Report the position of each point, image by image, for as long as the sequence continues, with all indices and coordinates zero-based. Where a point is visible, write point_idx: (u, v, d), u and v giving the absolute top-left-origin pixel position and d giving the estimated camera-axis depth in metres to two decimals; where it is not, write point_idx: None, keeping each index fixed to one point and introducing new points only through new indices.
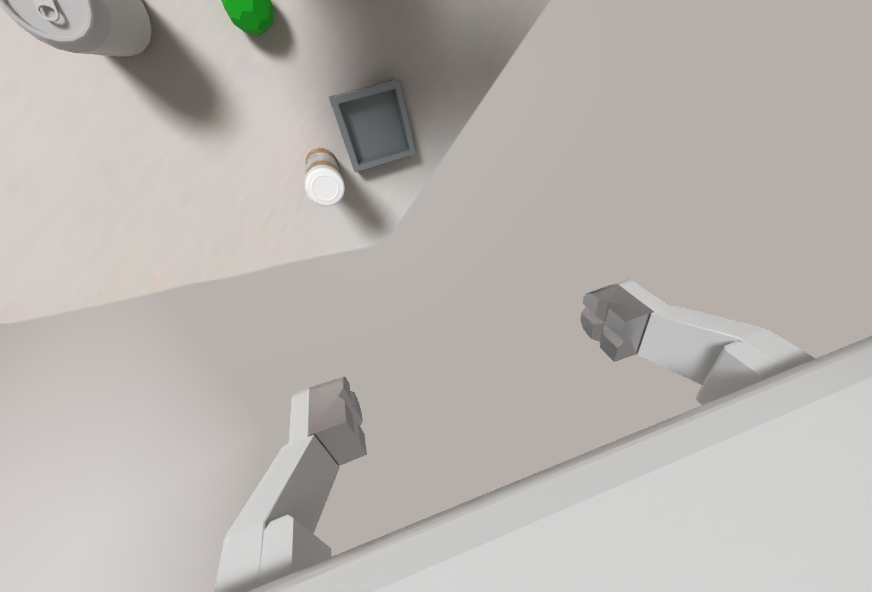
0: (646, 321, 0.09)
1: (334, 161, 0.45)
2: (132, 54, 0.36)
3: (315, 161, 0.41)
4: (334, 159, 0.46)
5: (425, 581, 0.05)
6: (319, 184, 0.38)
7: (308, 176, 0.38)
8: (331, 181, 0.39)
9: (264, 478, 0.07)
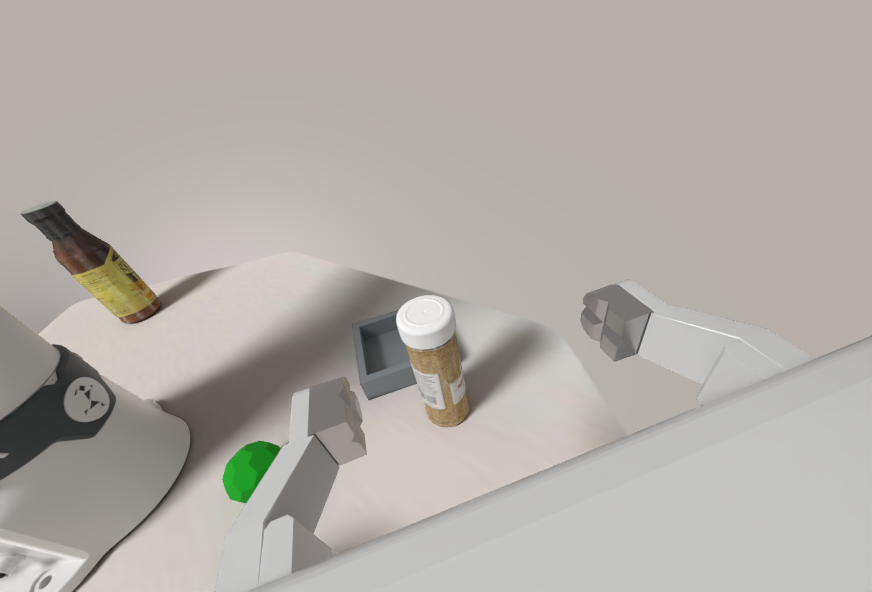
0: (646, 321, 0.09)
1: None
2: None
3: (411, 363, 0.28)
4: None
5: (425, 581, 0.05)
6: (418, 318, 0.25)
7: (406, 330, 0.24)
8: (414, 306, 0.26)
9: (264, 478, 0.07)
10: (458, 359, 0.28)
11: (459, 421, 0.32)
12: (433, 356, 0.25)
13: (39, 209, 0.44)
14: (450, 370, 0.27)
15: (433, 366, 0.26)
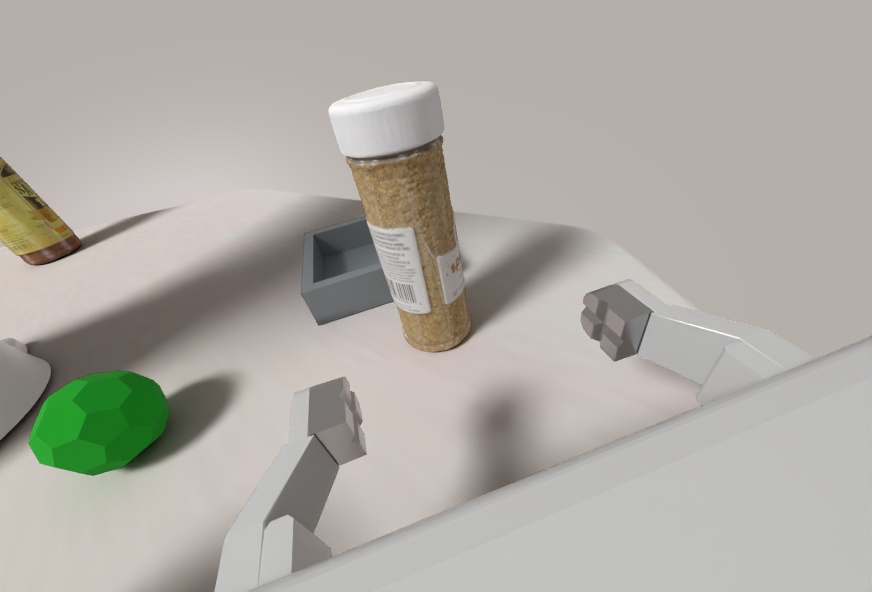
0: (646, 321, 0.09)
1: None
2: None
3: (367, 220, 0.16)
4: None
5: (425, 581, 0.05)
6: (369, 96, 0.13)
7: (342, 110, 0.12)
8: (365, 93, 0.14)
9: (264, 478, 0.07)
10: (451, 214, 0.16)
11: (455, 341, 0.19)
12: (400, 179, 0.13)
13: None
14: (436, 225, 0.15)
15: (403, 208, 0.14)
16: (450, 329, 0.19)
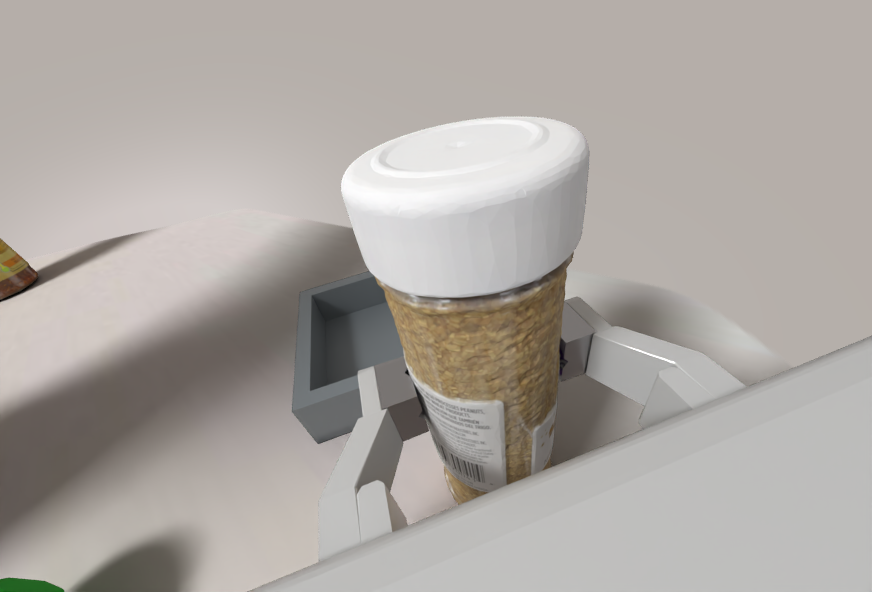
0: (589, 342, 0.09)
1: None
2: None
3: (407, 363, 0.09)
4: None
5: (425, 581, 0.05)
6: (436, 158, 0.06)
7: (377, 200, 0.05)
8: (416, 141, 0.07)
9: (346, 448, 0.08)
10: None
11: None
12: (495, 332, 0.06)
13: None
14: (542, 387, 0.08)
15: (489, 374, 0.07)
16: None
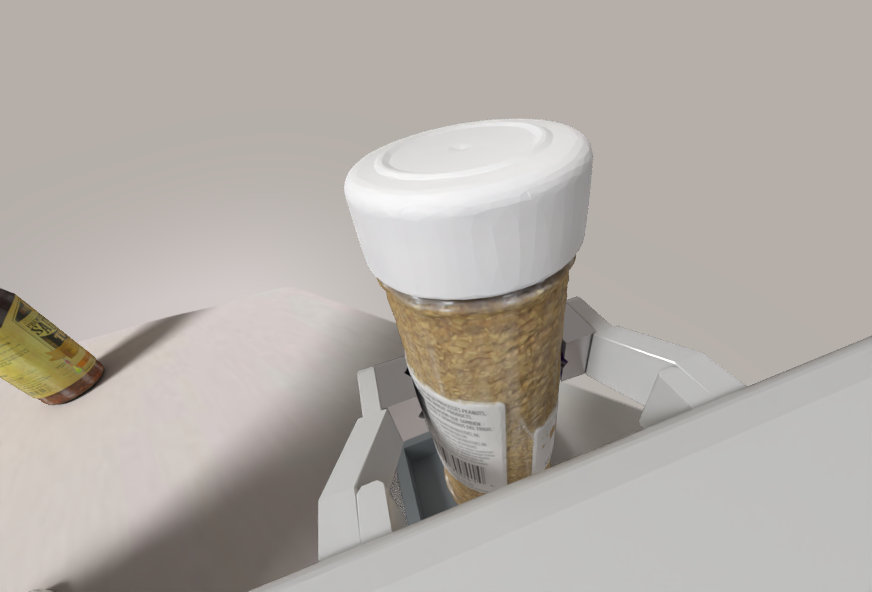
0: (589, 342, 0.09)
1: None
2: None
3: (409, 364, 0.09)
4: None
5: (425, 581, 0.05)
6: (439, 161, 0.06)
7: (381, 202, 0.05)
8: (419, 143, 0.07)
9: (346, 448, 0.08)
10: None
11: None
12: (498, 334, 0.06)
13: None
14: (544, 388, 0.08)
15: (492, 377, 0.07)
16: None
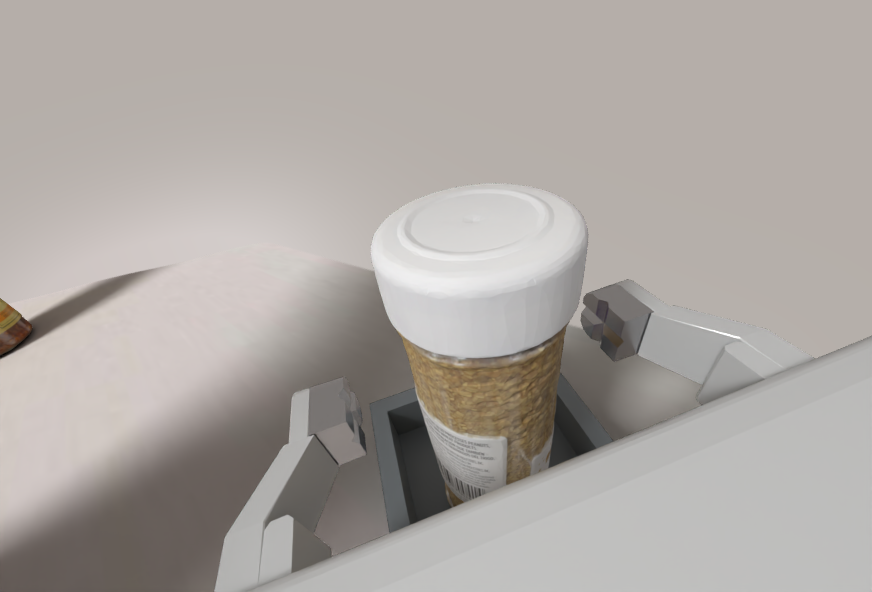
0: (646, 321, 0.09)
1: None
2: None
3: (419, 397, 0.09)
4: None
5: (425, 581, 0.05)
6: (456, 236, 0.06)
7: (408, 279, 0.06)
8: (435, 208, 0.08)
9: (264, 478, 0.07)
10: None
11: None
12: (503, 383, 0.07)
13: None
14: (542, 423, 0.09)
15: (496, 416, 0.08)
16: None
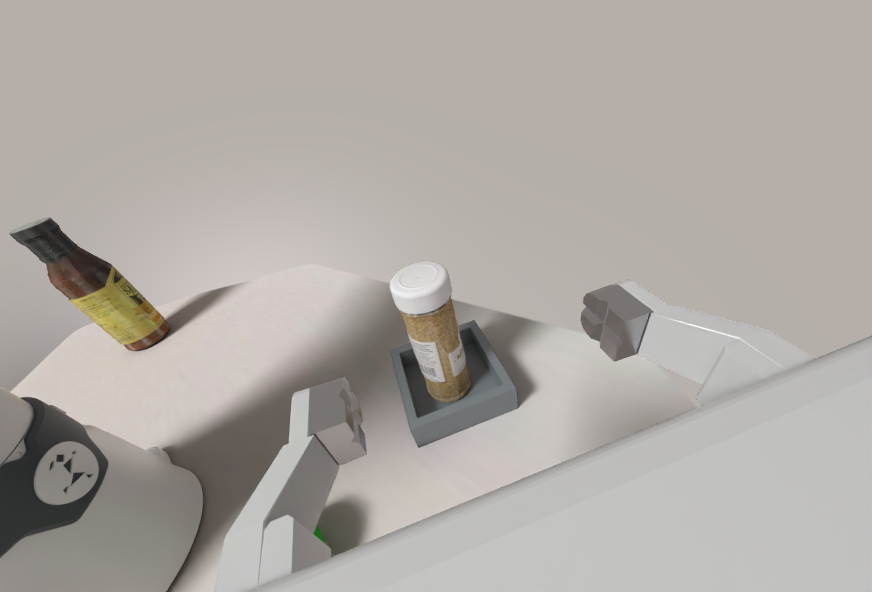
0: (646, 321, 0.09)
1: None
2: None
3: (408, 333, 0.27)
4: None
5: (425, 581, 0.05)
6: (412, 282, 0.24)
7: (399, 294, 0.23)
8: (408, 272, 0.25)
9: (264, 478, 0.07)
10: (456, 328, 0.27)
11: (460, 395, 0.31)
12: (428, 322, 0.25)
13: (29, 227, 0.39)
14: (448, 338, 0.26)
15: (429, 334, 0.25)
16: (457, 389, 0.30)
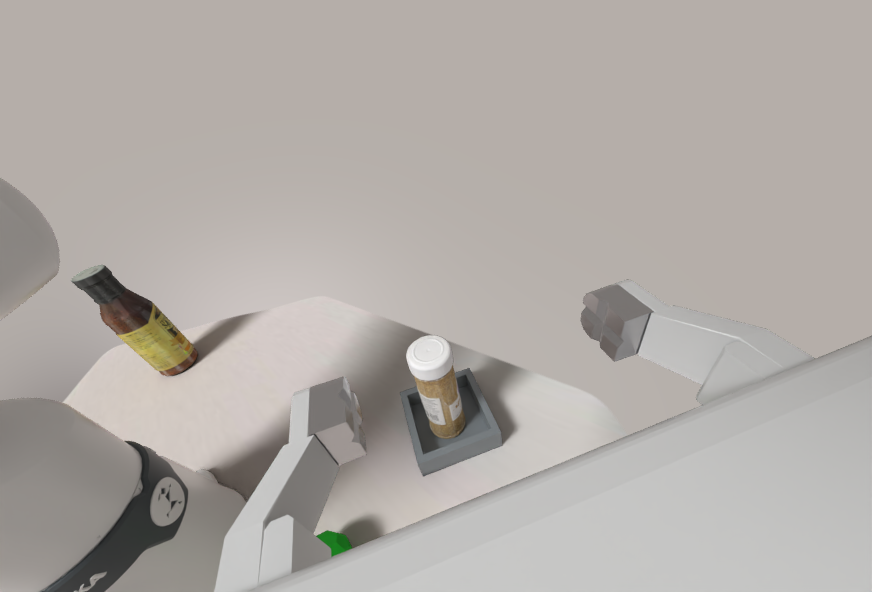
0: (646, 321, 0.09)
1: None
2: None
3: (418, 389, 0.35)
4: None
5: (425, 581, 0.05)
6: (424, 355, 0.32)
7: (414, 366, 0.31)
8: (420, 345, 0.33)
9: (264, 478, 0.07)
10: (455, 385, 0.35)
11: (457, 434, 0.39)
12: (435, 385, 0.32)
13: (89, 276, 0.45)
14: (449, 395, 0.34)
15: (435, 393, 0.33)
16: (454, 429, 0.38)
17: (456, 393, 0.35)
